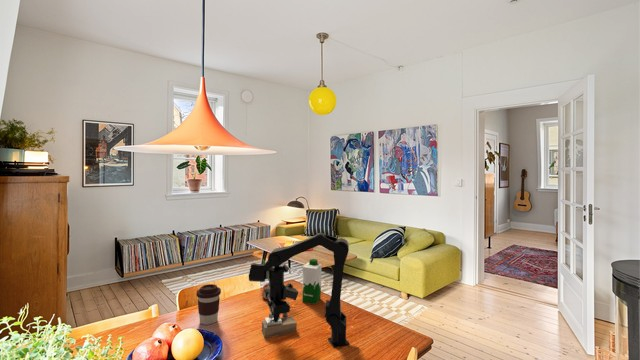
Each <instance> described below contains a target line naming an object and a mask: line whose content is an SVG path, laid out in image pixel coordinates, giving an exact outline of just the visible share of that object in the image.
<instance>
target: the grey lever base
mask: <svg viewBox="0 0 640 360" xmlns="http://www.w3.org/2000/svg"><path fill="white" fill-rule="evenodd" d="M281 314H282V316H281V317H280V318H281V320H282V324H279V325H273V326H266V323H265V320H261V333H262V335H263V338H264V339H266V338H267V339H268V338H272V337H277V336H279V337H280V336H284V335H289V334H295V333H296V334H297V333H298V331H297V330H298V328H297V327H298V326H297V325H298V324H297V323H298V322H297V321H296V319H295V318H294V316H288V314H289V312H288V313H281Z"/></svg>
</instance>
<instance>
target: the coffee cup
mask: <svg viewBox="0 0 640 360" xmlns="http://www.w3.org/2000/svg"><path fill="white" fill-rule="evenodd" d="M221 292H222V289H221V287H219V286H217V285H216V284H211V283H209V284H204V285H201V287H200V288H199V289H197V290H196V292H195V293H196V297H197V309H198V314H199V316H198V318H199V323H200V324H201V325H205V326H207V325H212V324H215V323H216V322H217V321H218V320H219V319H218V317H219V309H220V295H221Z"/></svg>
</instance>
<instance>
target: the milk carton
mask: <svg viewBox="0 0 640 360" xmlns="http://www.w3.org/2000/svg"><path fill="white" fill-rule="evenodd" d="M322 266H323V265H322V263H318V259H315V258H312V259H309V262H307V263H305V264H303V266H301V269H302V303H304V304H311V305H316V304H317V303H318V302H319V301H320V300H321V298H322V297H321V296H322V295H321V294H322Z"/></svg>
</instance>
